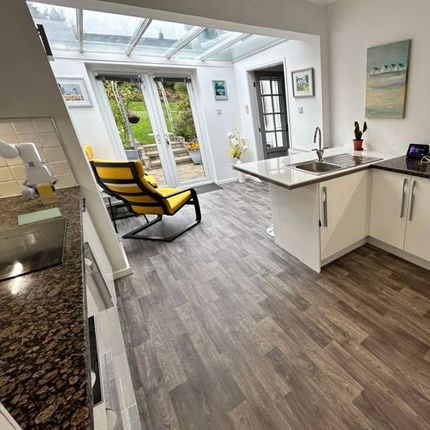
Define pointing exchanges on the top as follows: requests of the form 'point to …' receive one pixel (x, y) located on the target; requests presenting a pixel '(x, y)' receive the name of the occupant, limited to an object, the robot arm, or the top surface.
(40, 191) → the top cube
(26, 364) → the top surface
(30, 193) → the dog figurine
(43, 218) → the mat
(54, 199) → the base block
